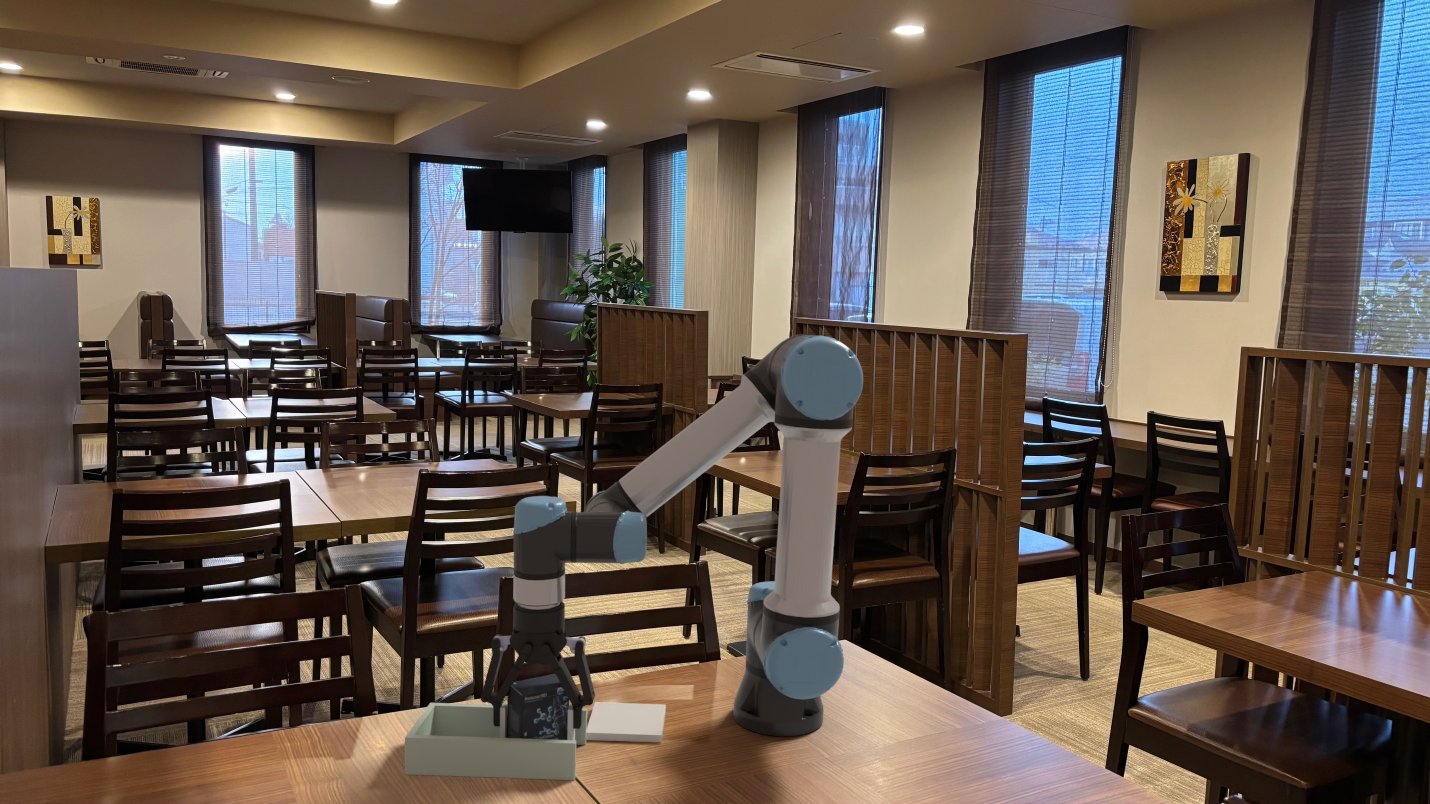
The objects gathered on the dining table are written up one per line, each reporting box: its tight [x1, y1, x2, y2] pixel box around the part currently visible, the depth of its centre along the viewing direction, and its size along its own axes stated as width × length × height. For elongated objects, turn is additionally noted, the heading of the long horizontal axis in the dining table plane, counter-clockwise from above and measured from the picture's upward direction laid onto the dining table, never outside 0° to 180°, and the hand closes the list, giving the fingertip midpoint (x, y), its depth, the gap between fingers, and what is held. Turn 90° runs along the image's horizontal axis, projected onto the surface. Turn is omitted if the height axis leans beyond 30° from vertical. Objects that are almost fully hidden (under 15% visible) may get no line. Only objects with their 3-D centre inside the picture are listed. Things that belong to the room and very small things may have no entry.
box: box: [507, 673, 570, 740], centre depth 148 cm, size 8×6×11 cm
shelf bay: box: [404, 702, 588, 781], centre depth 148 cm, size 24×12×6 cm, turn 90°
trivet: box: [586, 701, 667, 744], centre depth 161 cm, size 12×12×1 cm
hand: (537, 747), depth 148 cm, fingers closed on box, 9 cm apart
